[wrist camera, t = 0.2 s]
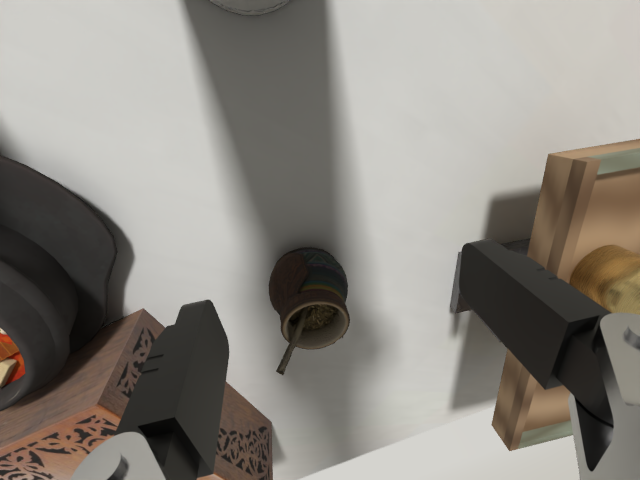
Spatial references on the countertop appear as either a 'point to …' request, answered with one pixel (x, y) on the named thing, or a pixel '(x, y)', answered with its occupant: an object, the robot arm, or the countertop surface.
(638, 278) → the cylinder
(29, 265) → the casserole
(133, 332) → the tissue box cover
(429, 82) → the countertop surface
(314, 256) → the mate gourd
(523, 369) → the beam
